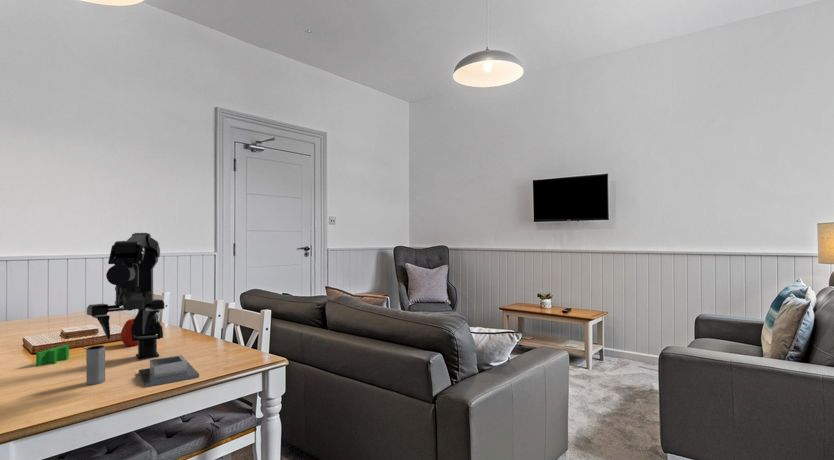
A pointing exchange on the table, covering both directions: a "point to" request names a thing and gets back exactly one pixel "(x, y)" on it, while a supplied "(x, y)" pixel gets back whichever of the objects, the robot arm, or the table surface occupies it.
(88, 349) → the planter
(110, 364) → the table surface
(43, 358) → the pipe clamp
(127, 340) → the apple
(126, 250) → the robot arm
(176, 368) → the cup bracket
